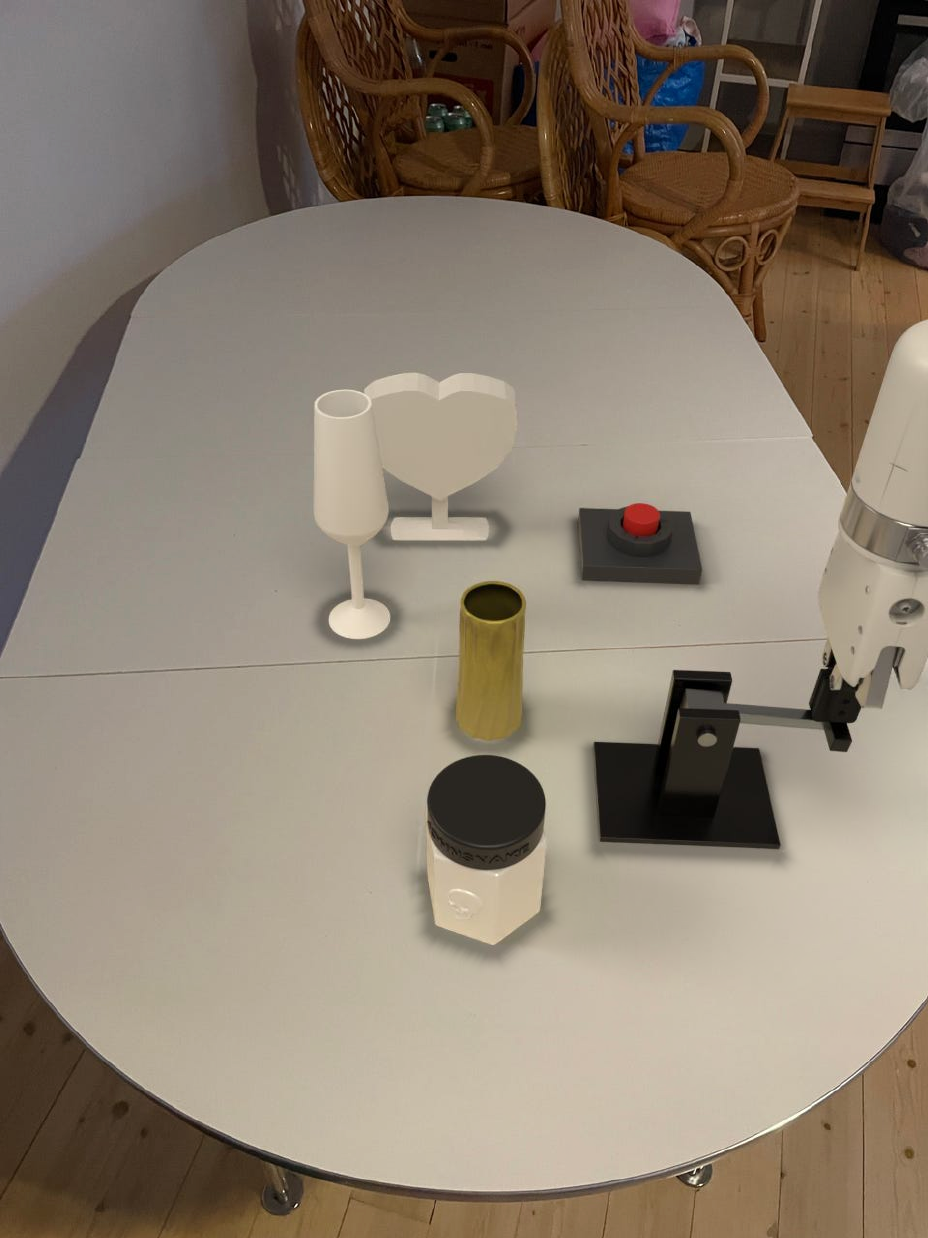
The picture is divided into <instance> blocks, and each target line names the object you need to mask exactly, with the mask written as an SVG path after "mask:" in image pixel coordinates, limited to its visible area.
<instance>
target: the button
mask: <svg viewBox="0 0 928 1238" xmlns="http://www.w3.org/2000/svg"><path fill="white" fill-rule="evenodd" d="M627 506H628V507H627ZM627 506H626V507H627V508H626V509H625V513H624V520H623V527H624V529H625V531H626V532H628V533H631V534H633V535H636V536H650V535H653V534H655V533H656V532H657V530H658V525H659V519H660V513H659V511H660V510H659V509H657V508H656V507H655V506H654V505H651V504H648V503H643V502H642V503H641V502H638V503H637V502H636V503H632V504H630V505H627ZM658 510H659V511H658Z"/></svg>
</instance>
